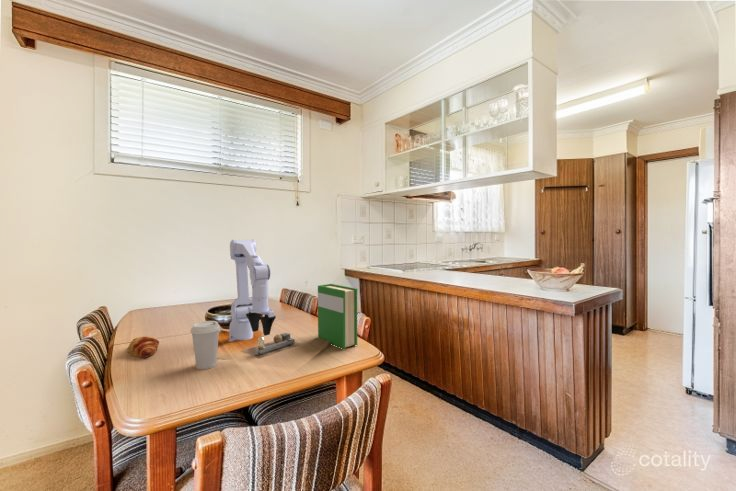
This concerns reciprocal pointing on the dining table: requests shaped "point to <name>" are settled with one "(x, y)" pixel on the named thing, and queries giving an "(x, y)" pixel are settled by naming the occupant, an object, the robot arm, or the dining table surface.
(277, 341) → the tan wooden ball
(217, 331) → the coffee cup
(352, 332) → the hardback book
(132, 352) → the croissant
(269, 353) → the base
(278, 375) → the dining table surface
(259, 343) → the lever
